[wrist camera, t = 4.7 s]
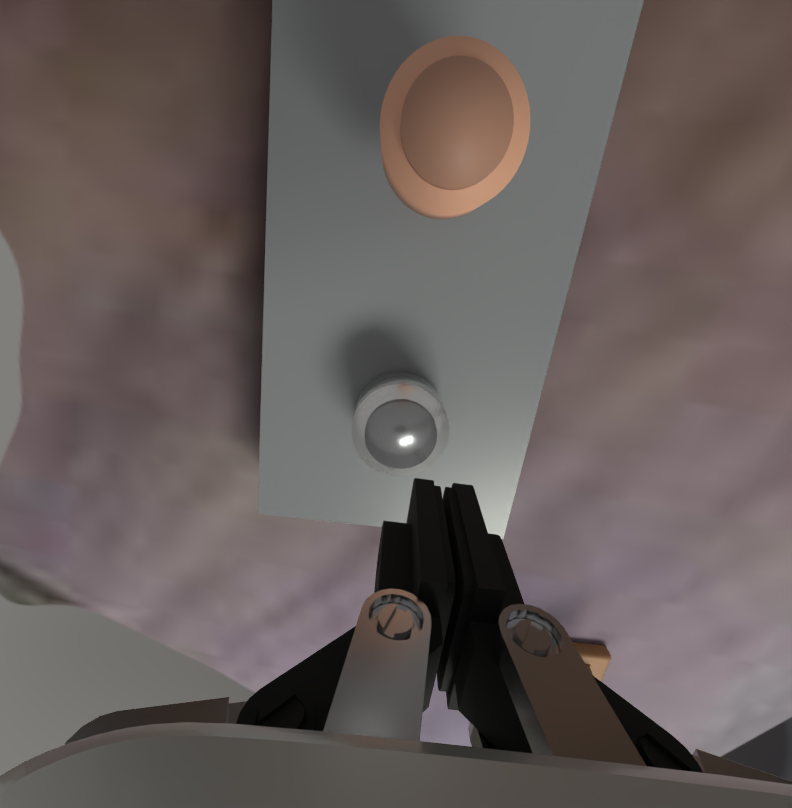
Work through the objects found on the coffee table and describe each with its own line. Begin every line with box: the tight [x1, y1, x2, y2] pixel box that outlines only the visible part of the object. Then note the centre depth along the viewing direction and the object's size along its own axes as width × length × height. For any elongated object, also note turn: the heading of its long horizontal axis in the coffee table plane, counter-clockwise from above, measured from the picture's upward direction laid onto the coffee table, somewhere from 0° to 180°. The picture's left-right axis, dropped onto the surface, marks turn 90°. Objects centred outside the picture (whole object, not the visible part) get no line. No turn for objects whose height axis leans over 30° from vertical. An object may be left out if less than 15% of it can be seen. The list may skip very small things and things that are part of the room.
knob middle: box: [380, 36, 530, 219], centre depth 14 cm, size 4×4×6 cm
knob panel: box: [258, 0, 644, 539], centre depth 19 cm, size 14×36×4 cm, turn 172°
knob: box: [352, 372, 450, 476], centre depth 21 cm, size 4×4×6 cm
